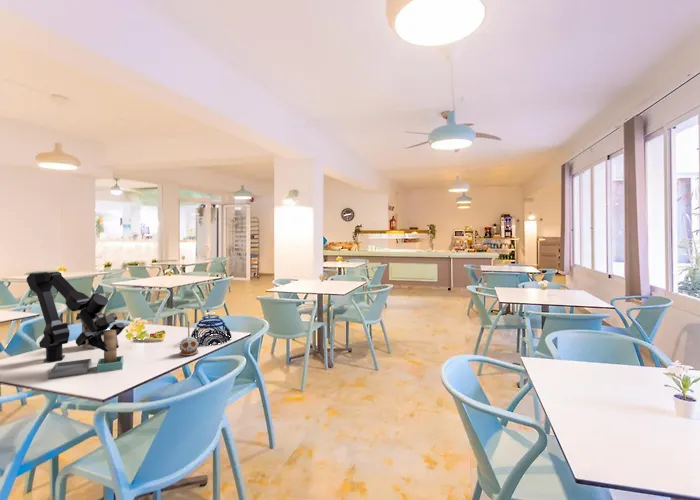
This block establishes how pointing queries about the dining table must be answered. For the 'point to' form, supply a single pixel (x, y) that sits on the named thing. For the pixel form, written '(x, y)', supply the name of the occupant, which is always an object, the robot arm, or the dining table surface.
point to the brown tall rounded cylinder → (110, 346)
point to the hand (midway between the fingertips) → (112, 349)
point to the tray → (70, 368)
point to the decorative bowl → (211, 330)
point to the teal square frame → (110, 365)
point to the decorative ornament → (188, 345)
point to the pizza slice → (153, 337)
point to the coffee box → (88, 330)
